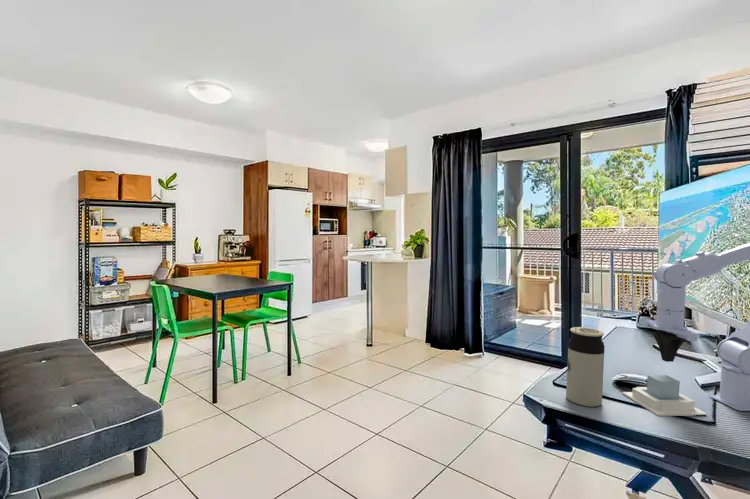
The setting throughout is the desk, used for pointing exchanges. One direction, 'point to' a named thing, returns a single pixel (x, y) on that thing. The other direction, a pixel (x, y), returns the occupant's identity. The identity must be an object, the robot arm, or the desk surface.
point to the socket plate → (664, 404)
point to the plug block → (663, 387)
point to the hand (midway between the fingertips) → (667, 360)
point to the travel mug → (585, 366)
